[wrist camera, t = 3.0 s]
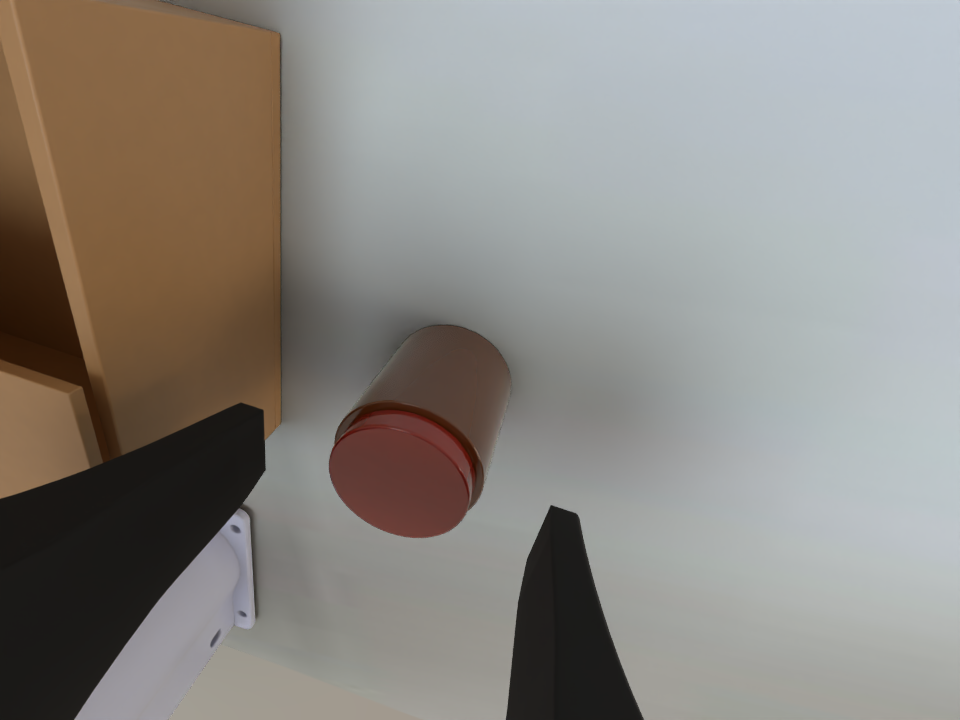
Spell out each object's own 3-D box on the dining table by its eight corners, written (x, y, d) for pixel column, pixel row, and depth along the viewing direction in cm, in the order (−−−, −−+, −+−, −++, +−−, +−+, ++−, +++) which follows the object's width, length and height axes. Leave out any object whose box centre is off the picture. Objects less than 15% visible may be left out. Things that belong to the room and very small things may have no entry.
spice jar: (495, 442, 17) (459, 563, 12) (387, 407, 17) (316, 514, 13) (526, 346, 15) (495, 452, 10) (402, 308, 15) (323, 396, 11)
